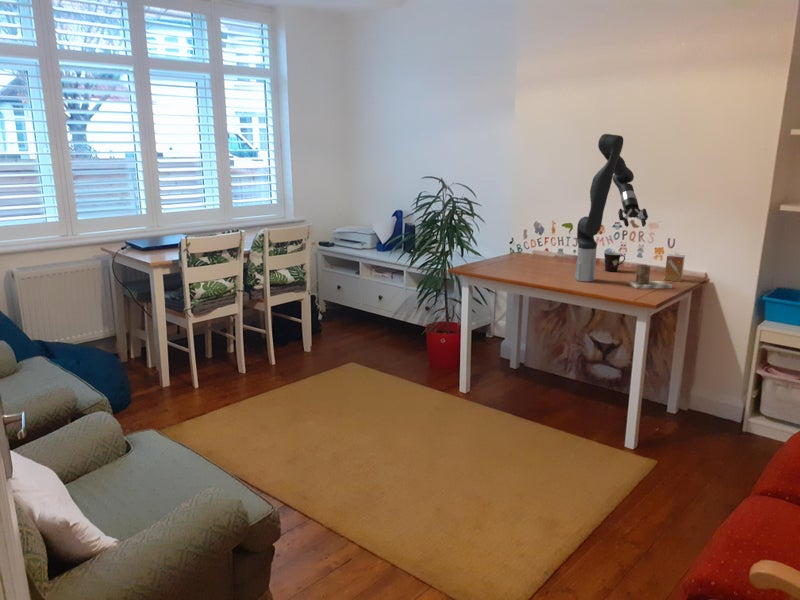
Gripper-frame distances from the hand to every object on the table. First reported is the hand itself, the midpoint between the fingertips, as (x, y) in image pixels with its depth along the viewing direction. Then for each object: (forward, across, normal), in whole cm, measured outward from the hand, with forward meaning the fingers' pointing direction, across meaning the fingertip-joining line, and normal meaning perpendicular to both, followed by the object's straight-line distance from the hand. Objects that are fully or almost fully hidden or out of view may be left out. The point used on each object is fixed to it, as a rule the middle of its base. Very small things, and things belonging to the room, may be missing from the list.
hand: (635, 225), depth 320 cm
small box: (+21, +22, +20) cm, 36 cm away
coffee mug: (+4, -1, +37) cm, 37 cm away
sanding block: (+30, 0, +9) cm, 31 cm away
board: (+31, +4, +10) cm, 32 cm away
